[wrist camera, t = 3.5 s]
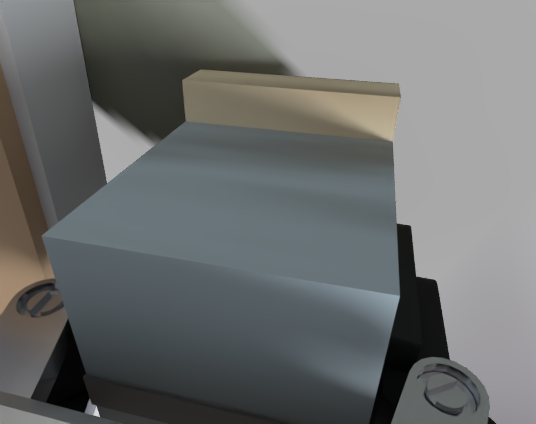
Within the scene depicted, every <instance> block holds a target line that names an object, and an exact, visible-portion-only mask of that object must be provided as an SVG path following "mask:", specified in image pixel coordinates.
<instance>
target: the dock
mask: <svg viewBox="0 0 536 424" xmlns="http://www.w3.org/2000/svg"><path fill="white" fill-rule="evenodd" d="M106 184H107V181H106V176H105V170H104V165H103V160H102V154H101V149H100V143H99V138H98V133H97V127H96V122H95V116H94V111H93V105H92V100H91V95H90V89H89V84H88V78H87V73H86V67H85V62H84V57H83V51H82V46H81V40H80V35H79V29H78V24H77V19H76V13H75V8H74V2H73V0H0V316H1V314H2V313H3V311H4V310H5V308H6V307H7V305H8V304H9V302H10V300H11V299H12V298H13V297H14V296H15V295H16V294H17V293H18V292H19V291H20V290H22V289H23V288H25V287H26V286H28V285H30V284H33V283H35V282H38V281H41V280H45V279H52V278H55V276H54V273H53V270H52V267H51V263H50V260H49V257H48V254H47V251H46V248H45V245H44V242H43V239H42V235H43V234H44V233H46V232H47V231H48V230H49V229H51V228H52V227H53V226H54V225H56V224H57V223H58V222H59V221H61V220H62V219H63V218H65V217H66V216H67V215H68V214H70V213H71V212H72V211H73V210H75V209H76V208H77V207H78V206H80V205H81V204H82V203H83V202H85V201H86V200H87V199H88V198H90V197H91V196H92V195H93V194H95V193H96V192H97V191H99V190H100V189H101V188H102V187H104V186H105V185H106Z"/></svg>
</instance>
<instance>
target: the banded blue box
mask: <svg viewBox="0 0 536 424" xmlns="http://www.w3.org/2000/svg"><path fill="white" fill-rule="evenodd" d="M182 85H183V96H184V107H185V118H186V121H185V122H184V123H183V124H182V125H180V126H179V127H178V128H177V129H175V130H174V131H173V132H172V133H170V134H169V135H168V136H167V137H165V138H164V139H163V140H161V141H160V142H159V143H158V144H156V145H155V146H154V147H153V148H151V149H150V150H149V151H148V152H146V153H145V154H144V155H143V156H141V157H140V158H139V159H138V160H136V161H135V162H134V163H133V164H131V165H130V166H129V167H127V168H126V169H125V170H124V171H123V172H121V173H120V174H119V175H118V176H116V177H115V178H114V179H113V180H111V181H110V182H109V183H107V184H106V185H105V186H104V187H102V188H101V189H100V190H99V191H97V192H96V193H95V194H93V195H92V196H91V197H90V198H88V199H87V200H86V201H85V202H83V203H82V204H81V205H80V206H78V207H77V208H76V209H75V210H73V211H72V212H71V213H70V214H68V215H67V216H66V217H65V218H63V219H62V220H61V221H59V222H58V223H57V224H56V225H54V226H53V227H52V228H51V229H49V230H48V231H47V232H46V233H44V234H43V235H42V239H43V242H44V245H45V248H46V251H47V254H48V257H49V260H50V263H51V267H52V270H53V273H54V276H55V279H56V282H57V285H58V288H59V291H60V294H61V297H62V301H63V304H64V307H65V310H66V313H67V316H68V319H69V322H70V325H71V328H72V331H73V334H74V338H75V341H76V344H77V347H78V350H79V353H80V356H81V359H82V362H83V365H84V368H85V371H86V374H85V375H84V376H83V380H84V383H85V386H86V389H87V392H88V395H89V398H90V401H91V404H92V405H96V406H97V408H98V412H99V415H100V417H101V418H104V419H108V420H112V421H115V422H119V423H123V424H369V422H370V418H371V414H372V410H373V406H374V401H375V397H376V393H377V389H378V385H379V381H380V377H381V372H382V368H383V364H384V360H385V356H386V352H387V348H388V343H389V339H390V335H391V331H392V327H393V323H394V319H395V314H396V310H397V306H398V302H399V298H400V286H399V265H398V244H397V223H396V205H395V204H396V201H395V181H394V161H393V137H394V132H395V126H396V121H397V115H398V109H399V104H400V98H401V95H400V87H399V84H395V83H381V82H367V81H354V80H339V79H326V78H312V77H298V76H285V75H271V74H257V73H243V72H230V71H216V70H202V69H201V70H199V71H197V72H195V73H194V74H192V75H190V76H189V77H187V78H185V79H183V80H182Z"/></svg>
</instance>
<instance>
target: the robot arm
mask: <svg viewBox="0 0 536 424" xmlns="http://www.w3.org/2000/svg"><path fill="white" fill-rule="evenodd" d="M397 244H398V265H399V286H400V298H399V302H398V306H397V310H396V314H395V319H394V323H393V327H392V331H391V335H390V339H389V343H388V348H387V352H386V356H385V360H384V364H383V368H382V372H381V377H380V381H379V385H378V389H377V393H376V397H375V401H374V406H373V410H372V414H371V418H370V422H369V424H496V423H495V422H494V421H493V420H492V419H491V418H489V417H488V415H489V408H490V405H489V396H488V394H487V391H486V389H485V387H484V385H483V384H482V383H481V381H480V380H479V379H478V378H477V376H476V375H474V374H473V373H472V372H471V371H469V370H468V369H467V368H466V367H464V366H462V365H460V364H458V363H457V362H455V361H451V360H450V358H449V352H448V346H447V341H446V334H445V328H444V322H443V316H442V310H441V303H440V297H439V292H438V286H437V282H436V281H435V280H432V279H427V278H421V277H416V272H415V262H414V252H413V242H412V232H411V226H409V225H403V224H397ZM85 374H86V371H85V368H84V365H83V362H82V359H81V356H80V353H79V350H78V347H77V344H76V341H75V338H74V334H73V331H72V328H71V325H70V322H69V319H68V316H67V313H66V310H65V307H64V304H63V301H62V297H61V294H60V291H59V288H58V285H57V282H56V279H55V278H52V279H45V280H41V281H38V282H35V283H33V284H30V285H28V286H26V287H25V288H23V289H22V290H20V291H19V292H18V293H17V294H16V295H15V296H14V297H13V298H12V299H11V300H10V302H9V304H8V305H7V307H6V308H5V310H4V311H3V313H2V314H1V316H0V424H123V423H119V422H115V421H112V420H108V419H104V418H101V417H97V416H93V414H94V411H95V408H96V405H92V404H91V401H90V398H89V395H88V392H87V389H86V386H85V383H84V380H83V376H84V375H85Z"/></svg>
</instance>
